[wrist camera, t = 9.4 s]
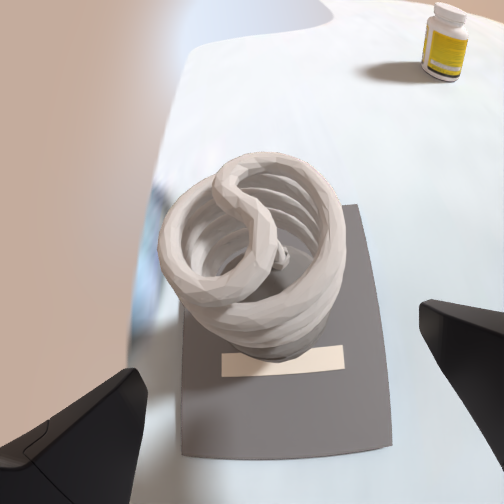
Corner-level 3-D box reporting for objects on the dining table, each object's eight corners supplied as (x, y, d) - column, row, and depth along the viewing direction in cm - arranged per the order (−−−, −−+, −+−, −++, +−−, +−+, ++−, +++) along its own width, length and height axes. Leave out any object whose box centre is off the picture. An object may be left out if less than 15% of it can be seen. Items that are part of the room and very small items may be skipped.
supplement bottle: (466, 84, 28) (480, 20, 19) (433, 82, 28) (445, 12, 20) (444, 63, 30) (454, 3, 22) (413, 61, 31) (420, -3, 22)
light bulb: (240, 280, 20) (167, 130, 9) (330, 284, 19) (348, 123, 8) (226, 369, 17) (106, 296, 7) (324, 377, 16) (360, 317, 6)
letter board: (389, 444, 14) (392, 445, 13) (185, 454, 16) (181, 455, 15) (356, 209, 22) (357, 203, 21) (193, 225, 23) (190, 220, 23)
